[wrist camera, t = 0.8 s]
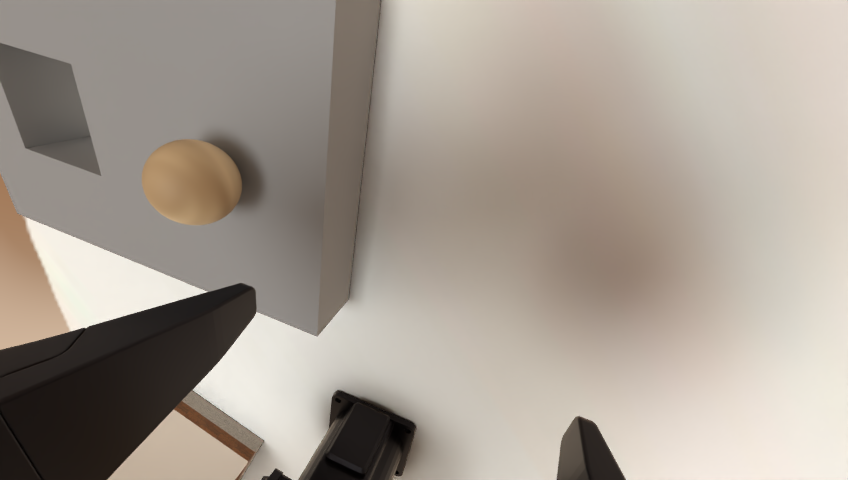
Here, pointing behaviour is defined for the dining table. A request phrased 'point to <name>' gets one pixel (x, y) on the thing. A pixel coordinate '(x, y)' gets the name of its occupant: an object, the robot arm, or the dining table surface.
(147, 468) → the grey striped pillar
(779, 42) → the dining table surface
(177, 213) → the ball
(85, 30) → the grey flat block
